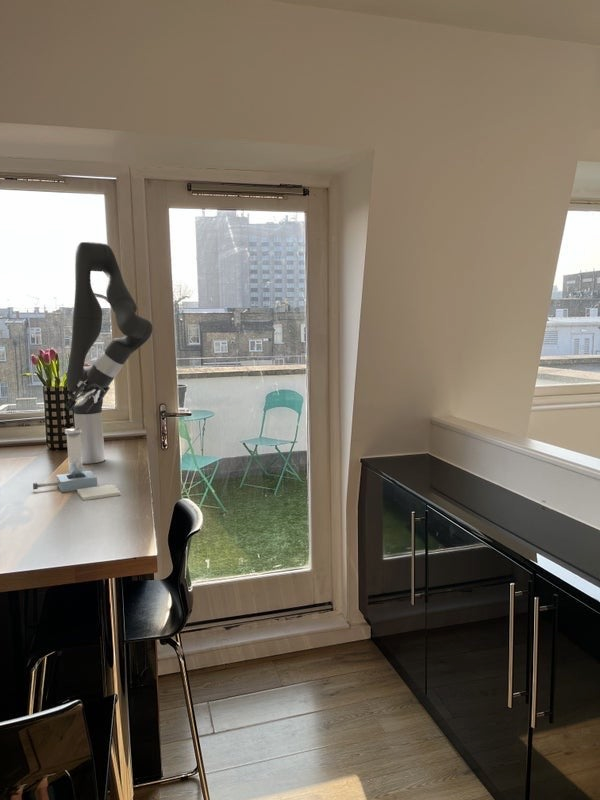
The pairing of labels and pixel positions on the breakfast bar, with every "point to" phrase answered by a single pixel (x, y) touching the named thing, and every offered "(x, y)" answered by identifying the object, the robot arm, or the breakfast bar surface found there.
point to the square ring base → (71, 482)
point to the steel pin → (74, 452)
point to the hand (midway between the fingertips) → (76, 409)
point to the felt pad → (98, 492)
